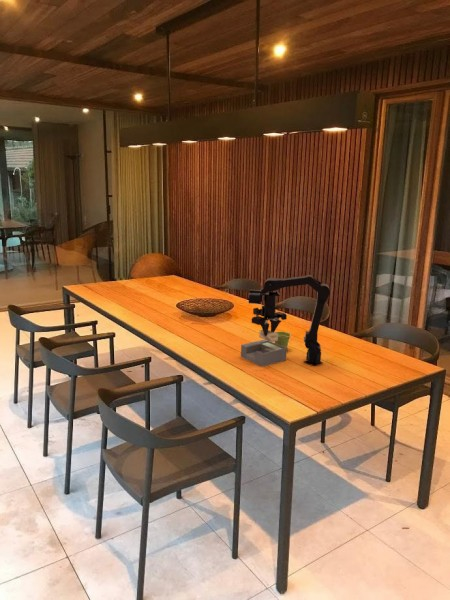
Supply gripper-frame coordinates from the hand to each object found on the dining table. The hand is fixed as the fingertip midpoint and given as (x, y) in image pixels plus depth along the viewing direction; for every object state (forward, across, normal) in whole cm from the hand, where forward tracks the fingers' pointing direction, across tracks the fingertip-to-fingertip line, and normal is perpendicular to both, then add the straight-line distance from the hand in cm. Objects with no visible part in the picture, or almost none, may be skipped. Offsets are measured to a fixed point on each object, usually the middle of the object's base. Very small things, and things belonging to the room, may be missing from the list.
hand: (268, 335), depth 236 cm
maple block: (+2, 0, 0) cm, 2 cm away
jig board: (+13, +1, -2) cm, 13 cm away
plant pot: (+13, -16, -7) cm, 21 cm away
